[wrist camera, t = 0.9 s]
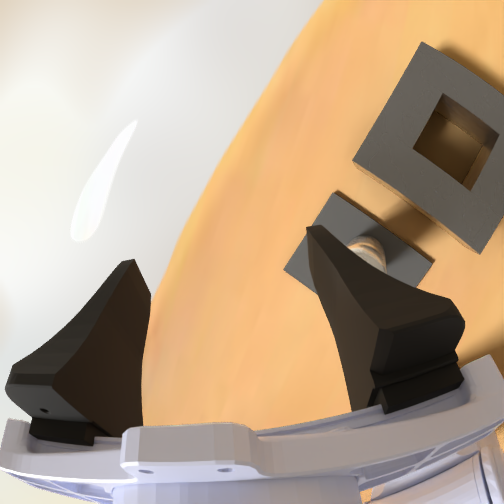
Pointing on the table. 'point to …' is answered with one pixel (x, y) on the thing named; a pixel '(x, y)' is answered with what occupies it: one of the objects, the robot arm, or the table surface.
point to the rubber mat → (349, 227)
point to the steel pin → (369, 251)
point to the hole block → (424, 171)
